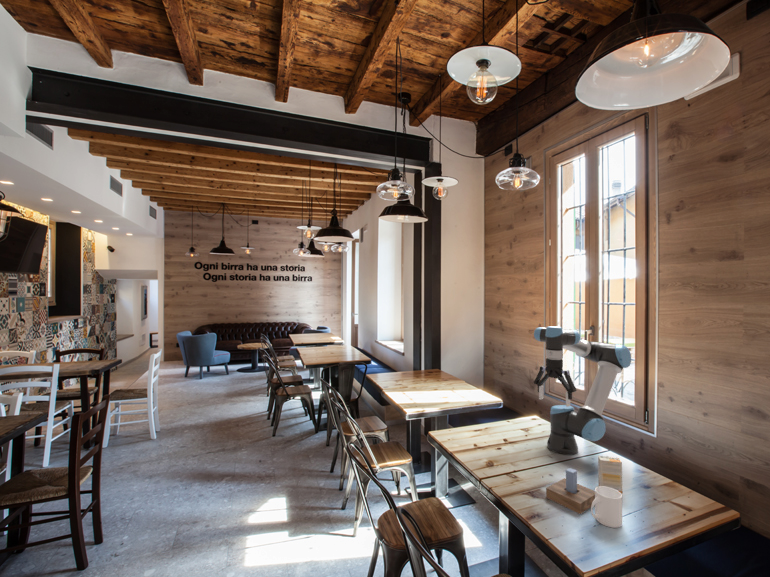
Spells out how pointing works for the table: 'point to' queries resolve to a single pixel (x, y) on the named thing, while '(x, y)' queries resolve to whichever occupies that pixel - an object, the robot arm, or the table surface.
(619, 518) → the mug
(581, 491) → the socket block
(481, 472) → the table surface
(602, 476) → the supplement box
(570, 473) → the peg
